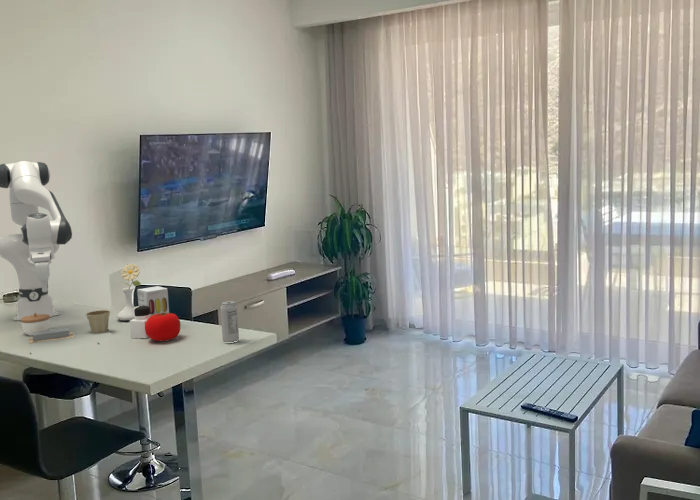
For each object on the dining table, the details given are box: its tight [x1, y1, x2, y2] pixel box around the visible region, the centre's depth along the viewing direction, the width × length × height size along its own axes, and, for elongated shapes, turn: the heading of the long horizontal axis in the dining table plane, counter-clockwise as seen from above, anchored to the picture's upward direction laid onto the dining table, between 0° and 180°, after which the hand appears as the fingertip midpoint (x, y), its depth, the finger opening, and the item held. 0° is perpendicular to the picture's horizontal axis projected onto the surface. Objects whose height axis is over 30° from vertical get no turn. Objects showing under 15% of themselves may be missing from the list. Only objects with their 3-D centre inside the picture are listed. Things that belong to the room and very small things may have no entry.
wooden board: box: [28, 331, 74, 344], centre depth 263 cm, size 10×16×1 cm, turn 116°
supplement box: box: [137, 285, 170, 317], centre depth 273 cm, size 10×9×17 cm
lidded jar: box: [20, 313, 51, 337], centre depth 271 cm, size 11×11×9 cm
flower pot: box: [85, 309, 111, 334], centre depth 270 cm, size 9×9×9 cm
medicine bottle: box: [129, 305, 150, 339], centre depth 262 cm, size 7×7×12 cm
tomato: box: [145, 312, 181, 342], centre depth 256 cm, size 14×13×10 cm
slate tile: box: [32, 327, 70, 342], centre depth 263 cm, size 6×13×2 cm, turn 116°
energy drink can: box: [219, 300, 240, 342], centre depth 247 cm, size 6×6×15 cm
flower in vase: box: [116, 262, 142, 321], centre depth 291 cm, size 13×11×25 cm
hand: (45, 290), depth 261 cm, fingers open, 8 cm apart
